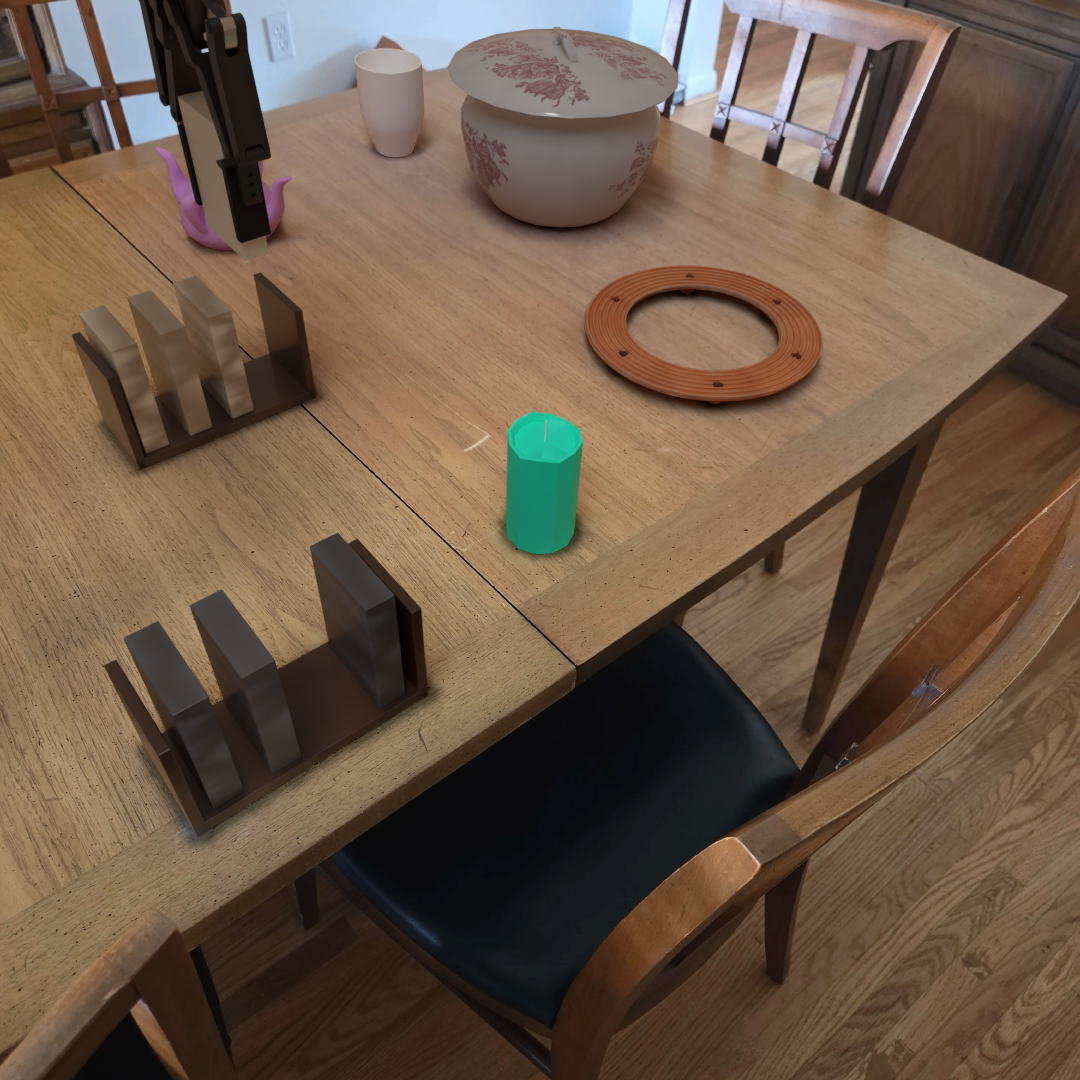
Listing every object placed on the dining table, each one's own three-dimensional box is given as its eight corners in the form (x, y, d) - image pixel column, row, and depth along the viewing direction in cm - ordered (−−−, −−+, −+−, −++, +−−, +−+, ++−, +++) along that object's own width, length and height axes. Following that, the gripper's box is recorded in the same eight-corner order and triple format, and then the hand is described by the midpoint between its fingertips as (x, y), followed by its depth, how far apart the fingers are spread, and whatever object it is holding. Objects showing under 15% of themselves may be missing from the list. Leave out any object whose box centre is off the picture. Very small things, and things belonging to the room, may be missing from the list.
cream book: (245, 261, 77) (217, 127, 69) (207, 226, 81) (177, 95, 73) (269, 253, 78) (244, 120, 70) (231, 219, 82) (203, 90, 74)
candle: (495, 513, 81) (496, 405, 73) (558, 498, 83) (567, 390, 74) (519, 561, 78) (523, 453, 69) (585, 544, 79) (597, 436, 71)
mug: (409, 168, 127) (403, 76, 118) (351, 156, 129) (341, 64, 120) (444, 136, 135) (441, 47, 126) (389, 124, 137) (383, 36, 128)
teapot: (172, 215, 115) (154, 144, 109) (284, 201, 119) (273, 131, 113) (183, 263, 108) (164, 189, 101) (303, 246, 112) (291, 174, 105)
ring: (536, 324, 102) (537, 305, 100) (701, 259, 113) (704, 241, 112) (696, 448, 89) (700, 428, 87) (865, 361, 100) (872, 342, 98)
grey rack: (197, 837, 60) (148, 737, 51) (146, 750, 64) (93, 645, 55) (428, 694, 68) (420, 588, 59) (370, 626, 72) (354, 517, 64)
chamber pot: (580, 280, 109) (595, 97, 94) (407, 206, 120) (396, 31, 105) (701, 197, 125) (730, 29, 110) (538, 138, 136) (544, -22, 121)
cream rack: (139, 470, 83) (99, 359, 75) (105, 424, 88) (63, 314, 79) (316, 397, 92) (299, 290, 83) (277, 358, 96) (256, 252, 87)
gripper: (288, -81, 58) (332, 254, 74) (155, -145, 68) (220, 162, 85) (172, -65, 54) (246, 283, 71) (52, -134, 65) (141, 184, 81)
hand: (232, 217), depth 78 cm, fingers closed on cream book, 7 cm apart
